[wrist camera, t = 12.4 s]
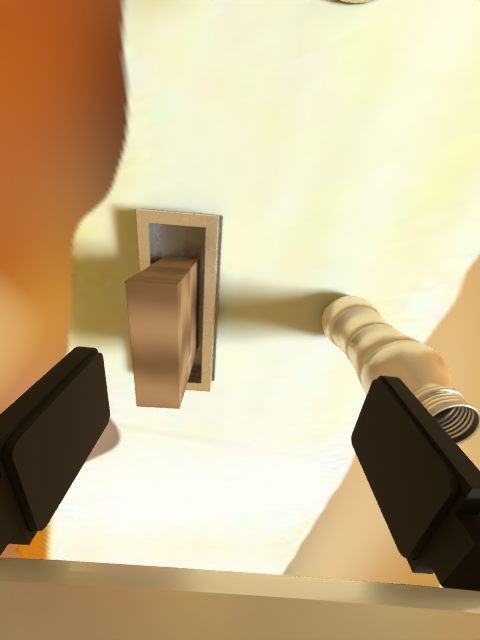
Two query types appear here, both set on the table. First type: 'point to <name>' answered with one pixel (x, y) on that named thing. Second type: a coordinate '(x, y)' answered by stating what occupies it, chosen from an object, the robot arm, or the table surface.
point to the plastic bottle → (398, 363)
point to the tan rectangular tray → (204, 244)
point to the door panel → (163, 329)
